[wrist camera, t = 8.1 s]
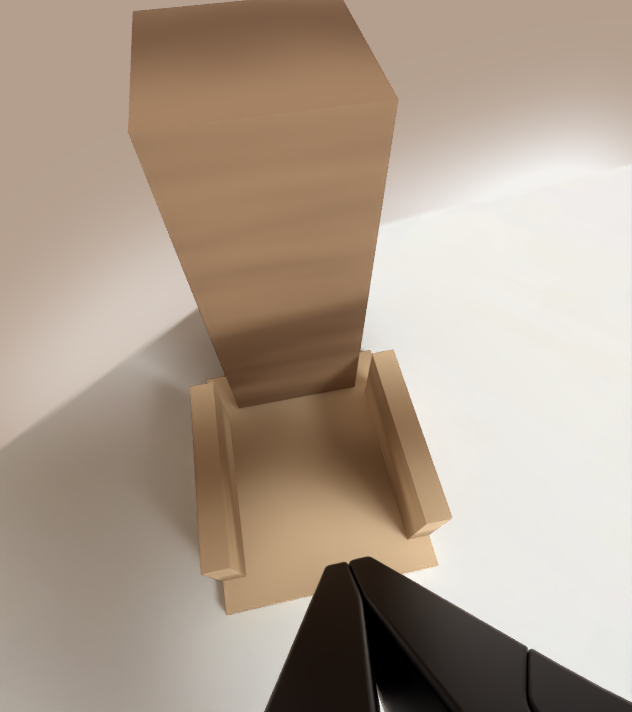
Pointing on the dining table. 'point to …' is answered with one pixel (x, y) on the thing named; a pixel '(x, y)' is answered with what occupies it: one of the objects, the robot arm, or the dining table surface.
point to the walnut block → (267, 179)
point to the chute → (312, 485)
